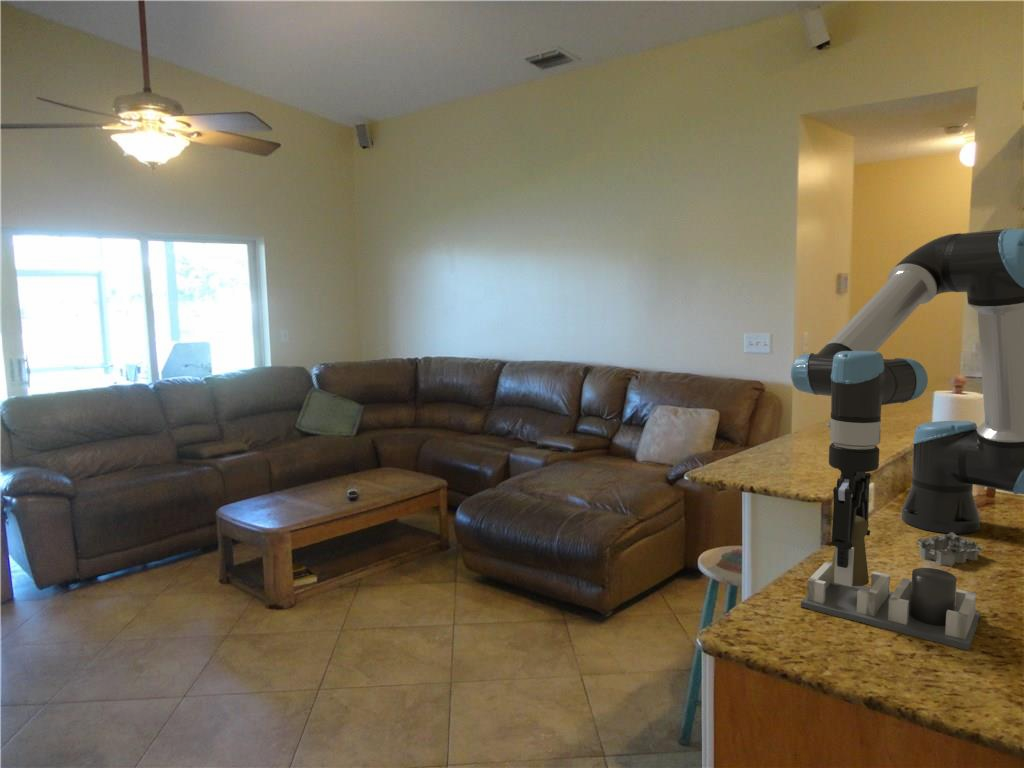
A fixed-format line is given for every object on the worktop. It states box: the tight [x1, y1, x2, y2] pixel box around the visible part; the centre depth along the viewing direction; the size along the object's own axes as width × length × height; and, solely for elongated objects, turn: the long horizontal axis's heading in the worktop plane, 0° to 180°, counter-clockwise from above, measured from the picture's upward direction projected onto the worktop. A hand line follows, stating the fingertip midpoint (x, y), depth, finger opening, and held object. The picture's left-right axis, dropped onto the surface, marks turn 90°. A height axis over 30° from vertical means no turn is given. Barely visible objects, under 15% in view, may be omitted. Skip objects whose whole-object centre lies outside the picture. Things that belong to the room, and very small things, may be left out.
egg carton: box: [915, 532, 984, 567], centre depth 138 cm, size 11×8×4 cm
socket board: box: [800, 560, 981, 652], centre depth 115 cm, size 13×24×8 cm, turn 50°
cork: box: [830, 515, 870, 586], centre depth 118 cm, size 6×6×11 cm
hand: (848, 577), depth 119 cm, fingers closed on cork, 6 cm apart
